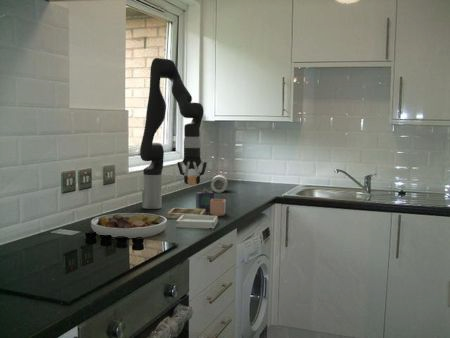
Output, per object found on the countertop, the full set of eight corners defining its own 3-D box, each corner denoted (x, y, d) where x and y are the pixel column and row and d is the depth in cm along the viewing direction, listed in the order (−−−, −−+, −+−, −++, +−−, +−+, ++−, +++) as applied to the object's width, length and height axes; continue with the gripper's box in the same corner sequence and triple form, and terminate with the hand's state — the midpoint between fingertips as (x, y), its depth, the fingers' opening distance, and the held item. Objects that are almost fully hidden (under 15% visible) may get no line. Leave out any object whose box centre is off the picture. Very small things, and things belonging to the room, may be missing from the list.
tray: (176, 227, 208) (176, 220, 208) (182, 220, 222) (182, 214, 222) (213, 228, 207) (213, 222, 207) (217, 221, 221) (217, 215, 220)
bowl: (98, 224, 213) (98, 206, 212) (168, 224, 215) (168, 206, 214) (83, 241, 183) (83, 220, 183) (164, 241, 185) (164, 220, 185)
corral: (167, 217, 227) (167, 213, 227) (173, 212, 241) (173, 207, 241) (201, 219, 225) (201, 214, 225) (205, 213, 239) (205, 209, 239)
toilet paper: (211, 190, 318) (212, 174, 317) (227, 190, 318) (227, 175, 316) (210, 192, 308) (211, 176, 307) (226, 192, 308) (227, 177, 307)
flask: (196, 210, 247) (196, 189, 246) (195, 209, 249) (195, 188, 248) (214, 209, 250) (214, 189, 248) (212, 208, 252) (212, 188, 251)
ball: (186, 185, 223) (186, 176, 222) (188, 184, 227) (188, 175, 227) (196, 186, 222) (196, 176, 222) (197, 184, 227) (197, 175, 226)
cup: (209, 215, 235) (209, 201, 234) (211, 212, 242) (211, 198, 241) (224, 216, 234) (224, 201, 233) (225, 213, 241) (225, 199, 240)
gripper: (175, 147, 220) (175, 185, 222) (206, 147, 219) (206, 185, 220) (178, 146, 228) (178, 183, 229) (208, 146, 226) (208, 183, 228)
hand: (192, 184), depth 225 cm, fingers closed on ball, 4 cm apart
